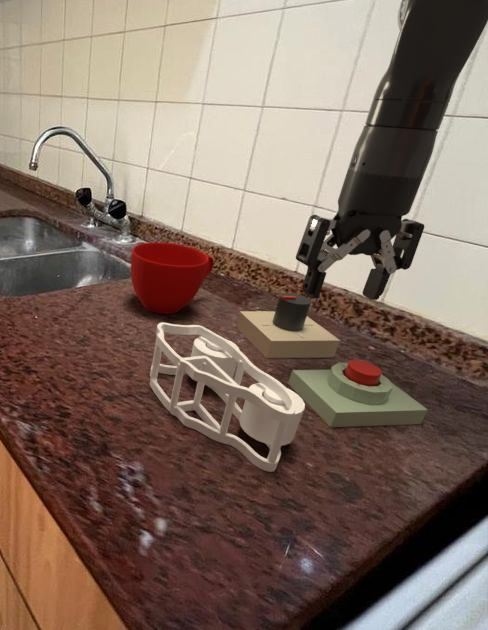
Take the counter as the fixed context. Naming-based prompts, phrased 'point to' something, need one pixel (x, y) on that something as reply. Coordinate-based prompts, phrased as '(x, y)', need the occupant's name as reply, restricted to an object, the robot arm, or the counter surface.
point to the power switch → (355, 399)
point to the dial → (291, 311)
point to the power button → (363, 373)
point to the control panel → (286, 337)
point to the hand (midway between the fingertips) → (340, 297)
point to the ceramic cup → (168, 275)
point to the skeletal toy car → (228, 393)
